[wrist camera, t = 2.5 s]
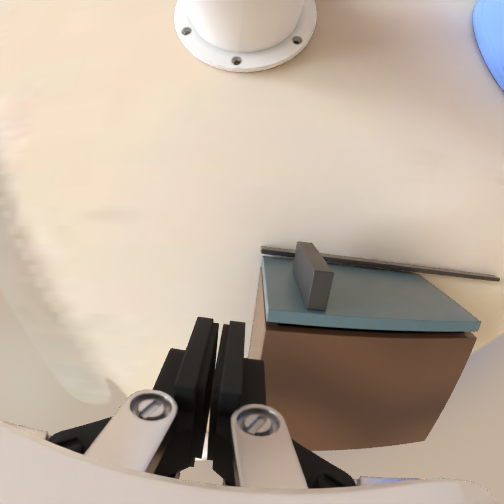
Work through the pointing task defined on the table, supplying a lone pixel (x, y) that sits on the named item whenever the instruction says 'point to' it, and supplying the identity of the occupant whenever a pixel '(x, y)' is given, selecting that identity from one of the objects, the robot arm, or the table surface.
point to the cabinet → (358, 373)
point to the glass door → (356, 297)
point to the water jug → (491, 35)
